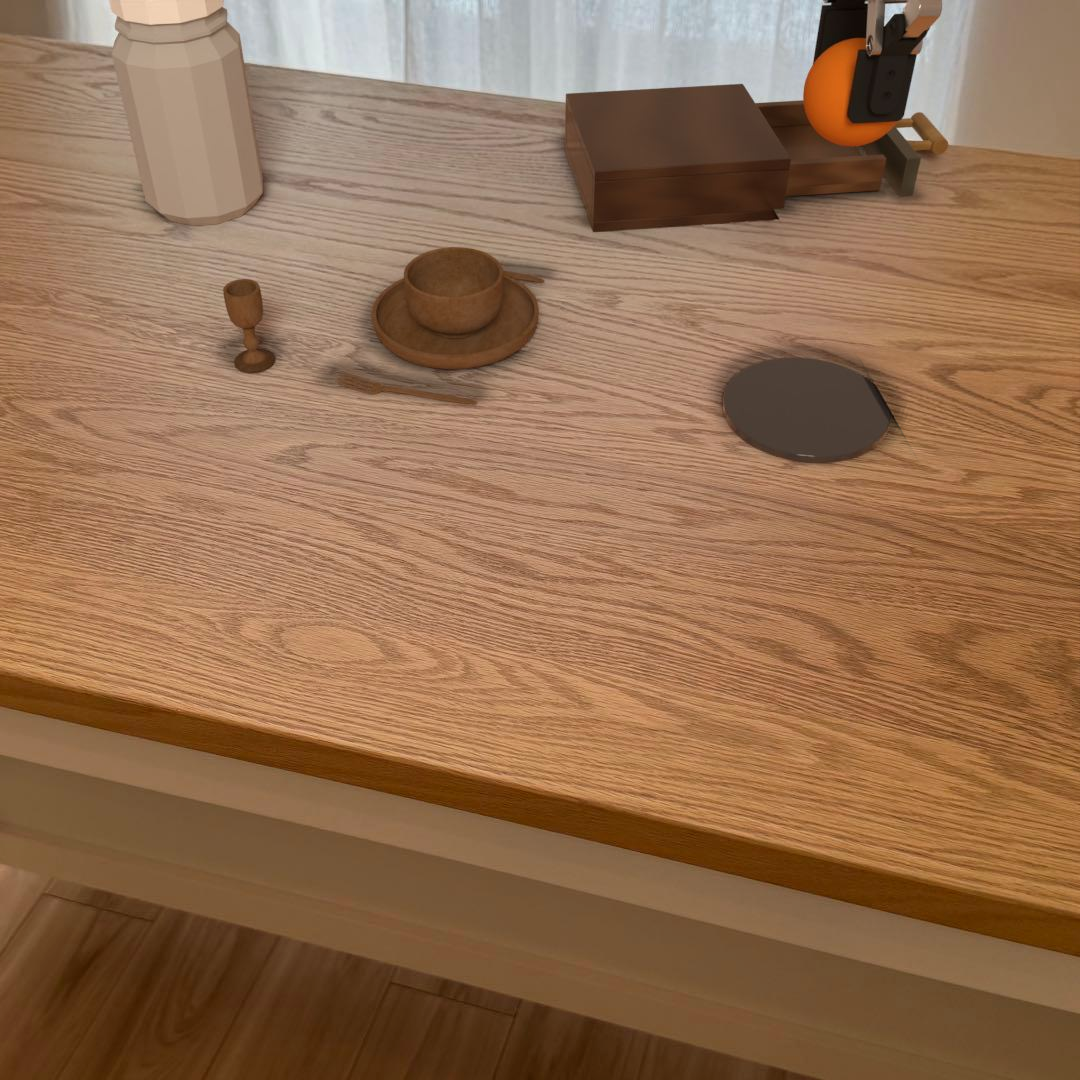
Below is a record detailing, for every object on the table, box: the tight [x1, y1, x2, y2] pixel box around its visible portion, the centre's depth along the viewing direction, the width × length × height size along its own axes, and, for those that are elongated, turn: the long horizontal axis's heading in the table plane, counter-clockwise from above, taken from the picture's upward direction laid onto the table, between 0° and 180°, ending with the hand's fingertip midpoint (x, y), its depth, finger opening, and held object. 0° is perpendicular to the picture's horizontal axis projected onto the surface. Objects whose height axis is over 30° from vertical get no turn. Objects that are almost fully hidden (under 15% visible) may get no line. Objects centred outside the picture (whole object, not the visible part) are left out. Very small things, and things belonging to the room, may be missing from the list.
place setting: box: [222, 246, 545, 405], centre depth 88 cm, size 18×20×6 cm
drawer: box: [755, 99, 949, 198], centre depth 106 cm, size 19×14×3 cm
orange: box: [802, 38, 898, 147], centre depth 73 cm, size 6×6×6 cm
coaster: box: [722, 356, 892, 464], centre depth 83 cm, size 11×11×1 cm
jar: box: [108, 0, 264, 227], centre depth 98 cm, size 10×10×18 cm
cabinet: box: [564, 83, 791, 233], centre depth 105 cm, size 16×15×5 cm
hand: (856, 93), depth 73 cm, fingers closed on orange, 6 cm apart
